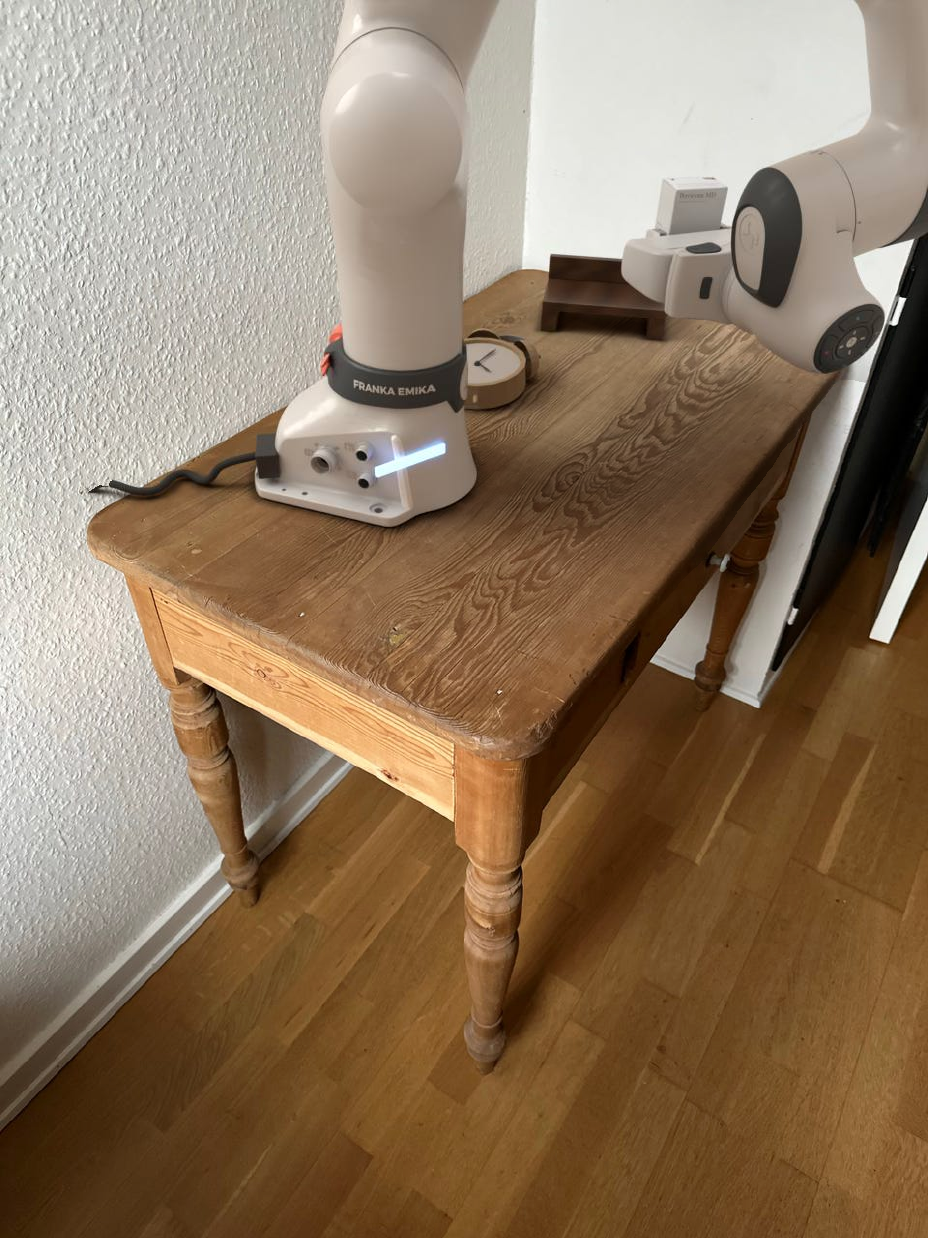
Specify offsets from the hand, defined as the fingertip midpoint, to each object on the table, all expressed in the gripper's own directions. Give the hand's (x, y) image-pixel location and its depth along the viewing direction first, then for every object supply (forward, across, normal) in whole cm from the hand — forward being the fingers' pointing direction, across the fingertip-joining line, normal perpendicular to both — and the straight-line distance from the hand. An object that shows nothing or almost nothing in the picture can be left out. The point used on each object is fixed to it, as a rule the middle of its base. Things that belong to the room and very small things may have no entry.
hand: (681, 232), depth 100 cm
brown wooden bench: (+16, 0, +17) cm, 23 cm away
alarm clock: (+5, +21, +17) cm, 27 cm away
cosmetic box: (-1, 0, +7) cm, 7 cm away
